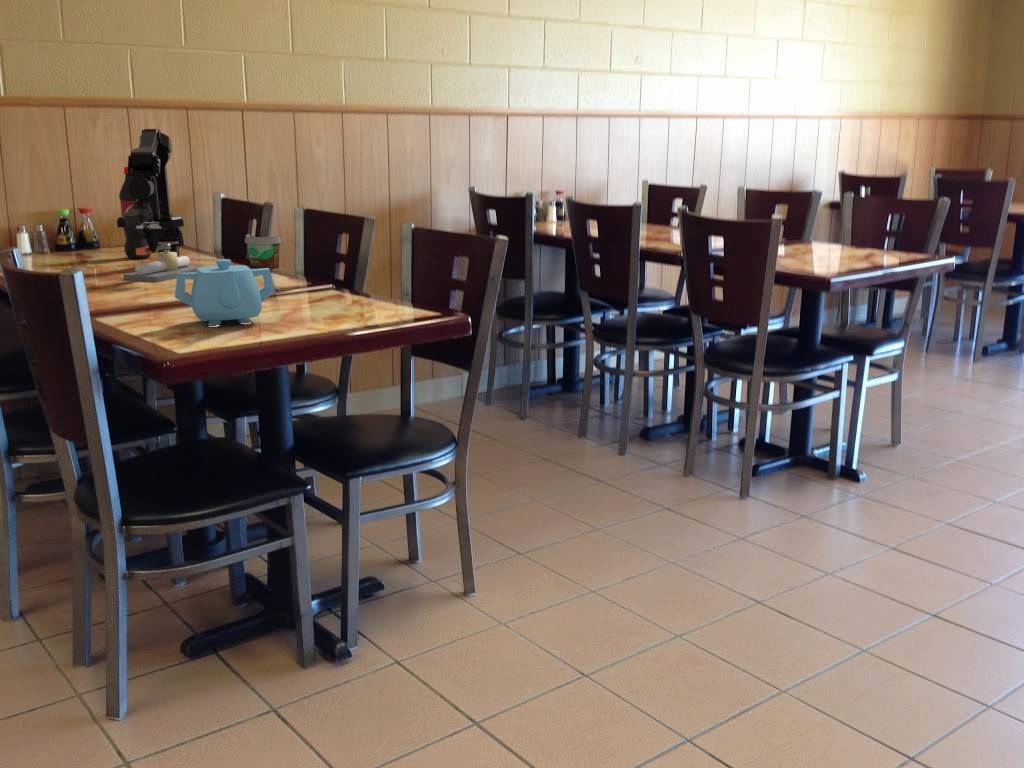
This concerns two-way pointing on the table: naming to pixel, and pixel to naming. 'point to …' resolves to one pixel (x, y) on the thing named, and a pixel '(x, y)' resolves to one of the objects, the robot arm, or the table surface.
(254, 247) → the food container
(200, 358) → the table surface
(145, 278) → the valve base
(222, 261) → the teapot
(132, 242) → the cola bottle
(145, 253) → the valve lever
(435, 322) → the table surface
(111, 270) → the table surface
